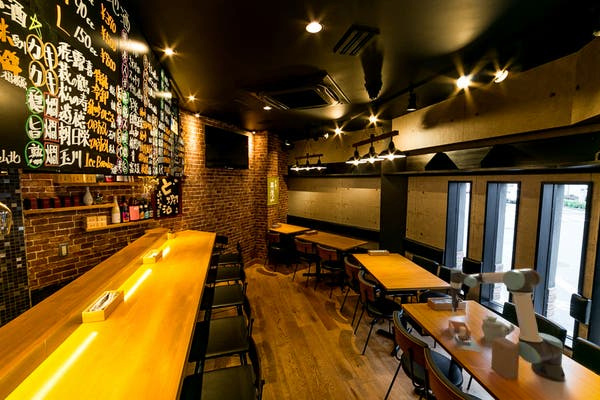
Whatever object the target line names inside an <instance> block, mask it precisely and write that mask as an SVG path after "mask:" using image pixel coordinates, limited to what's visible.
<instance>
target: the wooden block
mask: <svg viewBox="0 0 600 400" xmlns="http://www.w3.org/2000/svg"><path fill="white" fill-rule="evenodd" d="M491 344H492V345H491V364H490V365H491V367H490V368H491V369H492V371H493V372H495V373H497V374H498V375H499V376H501V377H502V378H504V379H505V380H510V379H513V378H517V377H518V376H519V368H520V367H519V365H520V364H519V363H520V355H519V349H520V347H519V345H517V343H515V342H513V341H511V340H509V339H508V338H506V337H505V338H504V337H502V338H497V339H493V340H492V342H491Z"/></svg>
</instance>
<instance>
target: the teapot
mask: <svg viewBox="0 0 600 400" xmlns="http://www.w3.org/2000/svg"><path fill="white" fill-rule="evenodd" d="M497 319H498V317H494V316H493V315H485V317H483V318H482V324H481V330H482V332H483V336H484V340H485V342H489V343H492V340H493V339H497V338H502V337H504V338H506V337H507V336H508V335H510V334H511V333H513V332H514V331H515V329H516V328H515V325H514V324H513V323H510V326H508V325H507V324H506V323H505V322H502V321H500V320H497Z"/></svg>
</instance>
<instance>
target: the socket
mask: <svg viewBox="0 0 600 400" xmlns="http://www.w3.org/2000/svg"><path fill="white" fill-rule="evenodd" d="M455 338H456V340H457V342H458V343H461V344H468V345H471V342H470V340H469V339H468V337H467V336H466V340H467V341H464V340H459V335H457V334H455Z"/></svg>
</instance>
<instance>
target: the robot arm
mask: <svg viewBox="0 0 600 400" xmlns="http://www.w3.org/2000/svg"><path fill="white" fill-rule="evenodd" d="M541 277H542V276H541V275H540V273H539V272H538V271H536V270H534V269H533V268H525V267H524V268H518V269H511V270H507V271H504V272H500V271H499V272H479V273H472V274H466V273H463V270H462V269H461V268H460V267H452V268H451V269H450V284H449V285H450V286H449V291H450V292H451V304H452V306H451V307H452V313H451V314H452V316H458V315H457V311H458V308H459V301H460V295H459V294H461V293H462V285H466V286H468V287H471V288H474V287H476V286H477V285H478V284H479V285H480V284H504V286H505V287H506V288H507V289H508V291H509V293H511V294H512V296H513V302H514V307H515V312H516V317H517V323H518V328H519V334H518V335H517V338H518V341H517V343H516V344H517V345H519V347H520V349H519V357H521V359H522V360H523V361H525V362H527V363H529V364H530V367H531V369H532V371H533V372H534V373H535V374H538V375H539V376H540V377H543V378H545V379H546V380H548V381H549V380H550V381H554V382H561V383H562V382H564V381H565V380H566V374H565V372H564V368H563V364H562V362H563V352H564V351H563V350H564V347H563V346H564V345H563V344H564V343H563V342H562V341H561V339H558V338H557V337H555V336H553V335H550V334H547V333H543V332H539V331H538V330H539V329H538V323H537V320H536V319H537V318H536V316H535V315H536V313H535V310H534V305H533V300H532V294H534V288H535V287H537V286H539V285H540V284H541V281H542V278H541Z"/></svg>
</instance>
